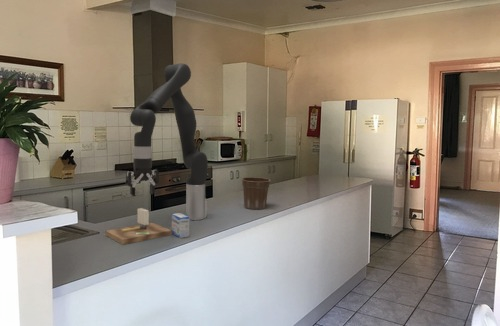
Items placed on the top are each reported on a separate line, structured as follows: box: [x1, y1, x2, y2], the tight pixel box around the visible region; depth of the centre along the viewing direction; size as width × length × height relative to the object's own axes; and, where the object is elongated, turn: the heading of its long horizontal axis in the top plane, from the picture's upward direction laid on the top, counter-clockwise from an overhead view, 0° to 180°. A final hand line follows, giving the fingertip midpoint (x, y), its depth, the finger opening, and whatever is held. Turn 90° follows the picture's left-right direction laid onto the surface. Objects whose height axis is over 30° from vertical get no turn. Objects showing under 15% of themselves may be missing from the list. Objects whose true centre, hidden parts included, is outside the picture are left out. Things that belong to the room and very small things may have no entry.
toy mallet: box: [122, 207, 150, 232], centre depth 176 cm, size 11×6×8 cm, turn 133°
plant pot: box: [241, 176, 272, 210], centre depth 234 cm, size 16×16×16 cm
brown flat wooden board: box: [105, 222, 173, 246], centre depth 175 cm, size 22×16×2 cm
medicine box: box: [171, 212, 190, 239], centre depth 177 cm, size 8×4×9 cm, turn 37°
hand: (142, 194), depth 177 cm, fingers open, 8 cm apart
